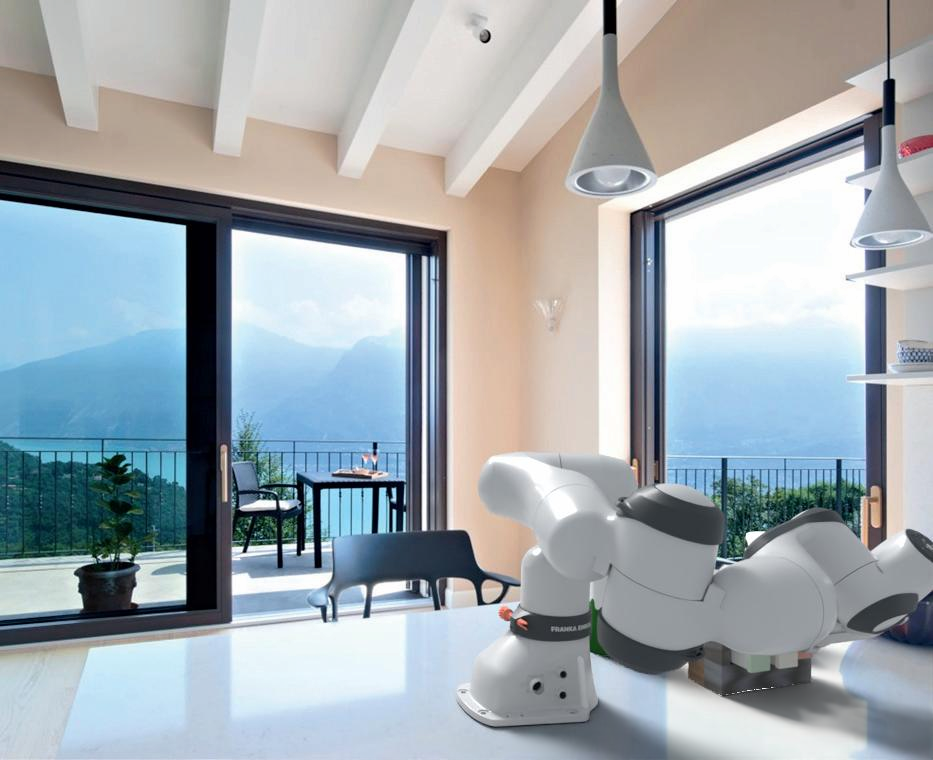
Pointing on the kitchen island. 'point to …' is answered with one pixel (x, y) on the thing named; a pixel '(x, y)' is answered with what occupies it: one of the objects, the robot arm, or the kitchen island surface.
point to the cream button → (785, 660)
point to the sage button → (750, 661)
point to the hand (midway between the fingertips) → (806, 648)
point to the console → (741, 672)
